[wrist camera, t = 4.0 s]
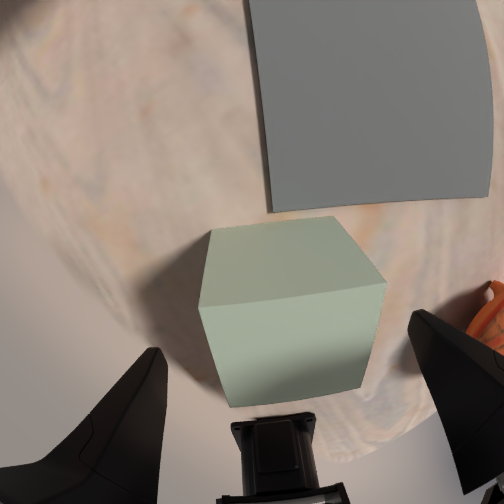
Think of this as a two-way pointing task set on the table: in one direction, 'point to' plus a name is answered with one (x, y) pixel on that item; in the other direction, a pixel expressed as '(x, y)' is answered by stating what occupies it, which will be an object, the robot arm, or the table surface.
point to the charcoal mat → (373, 100)
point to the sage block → (289, 310)
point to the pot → (490, 321)
